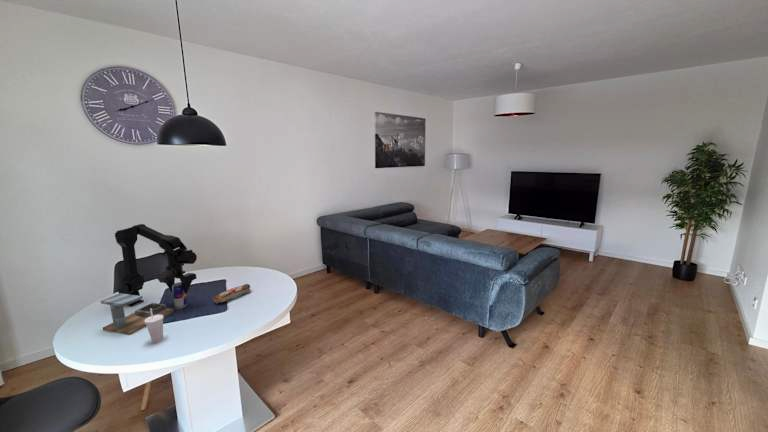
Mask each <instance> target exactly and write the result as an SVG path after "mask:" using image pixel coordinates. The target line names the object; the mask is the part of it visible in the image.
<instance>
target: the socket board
mask: <svg viewBox="0 0 768 432" xmlns="http://www.w3.org/2000/svg"><path fill="white" fill-rule="evenodd" d="M140 299H141V300H143V296H142V295H140V296H138V295H130V294H122V293H117V294H114V295H112V296H110V297H107V298H105V299H101V300H100V304H103V305H109V309H110V313H111V319H112V323H109V324H107V325H105V326H103V327H102V331H106V332H111V333H112V332H113V333H115V334H116V333H118V334H122V335H129V336H131V335H134V333H137V332H138V331H140V330H142V329H144V328H147V326H146V324H145V319H146V318H148V317H150V316H151V312H150V308H152V313H153V315H163V317H164V318H165V317H167V316H168V315H171V314H172V313H174V312H175V309H174V308H169V307H167V304H165V303H157V302H151V303H149V304H146V305H144V306H142V307H139V308H138V309H136V310H134V312H132V313H130V314H128V315H126V314H125V310H124V308H125V307H128V306H127V305H129V304H131V303H134V302H136V301H138V300H140Z"/></svg>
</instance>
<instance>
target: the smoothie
mask: <svg viewBox="0 0 768 432" xmlns="http://www.w3.org/2000/svg"><path fill="white" fill-rule="evenodd" d="M150 312H151V316H150V317H148V318H146V319H145V324H146V328H147V331H148V333H149V336H150V339H151V341H152V343H158V342H161V341H162V340H163V339H164V318H165V317H163V315H153V313H152V308H150Z"/></svg>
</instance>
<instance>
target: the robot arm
mask: <svg viewBox="0 0 768 432" xmlns="http://www.w3.org/2000/svg"><path fill="white" fill-rule="evenodd" d="M138 235H140V236H142V237H143V238H145V239H148V240H150V241H151V242H154V243H156V244H157V245H158V246H159V248H160V249H162V250H164V251H163V252H162V253H161V255H162V256H165V257H166V262H167V265H166V266H165V270H163V271H162V272H160V273H158V274H157V275H156V279H157V280H158V282H159V283H163V284H165V285H166V286H167V287H168V289H169V290H170V292H171V293H173V291H172V285H173V284H175V283H176V282H175V281H176V279H179V281H180V283H181V284H182V285H183V289H184V293H185V294H186V295H187V294H188V293H189V290H190V287H191V284H192V282H193V281H195V280H196V279H197V274H196V273H193V272H188V273H186V271H185V270H183V267H184V266H185V264H186V265H194V264H195V263H196V262H197V254H196V253H195V251H194V252H193V249H188V247H187V246H186V245H185V244H184V242H182V240H181V238H180V237H177V236H175V235H169V234H164V233H161V232H159V231H157V230H155V229H153V228H152V227H148V226H146V224H143V223H140V224H135V225H133V226H131V227H127V228H124V229H123V228H122V229H119V230H116V231H115V233H114V237H115V240H116V241H115V242H116V243H117V244H118V246H120V247H121V252H122V258H123V259H122V261H123V266H124V273H125V275H124V277H123V278H122V281H121V283H122V286H121V288H120V289H119V290H118V293H117V294H119V293H122V294H130V295H138V296H141V295H140V290H143V289H144V284H145V276H144V274H140V272H139V271H138V264H137V263H138V262H137V256H136V249H135V245H136V243H137V241H138ZM144 301H145V300H144V299H140V300H138V301H136V302H134V303H131V304H129V305H127V306H126V307H134V306H136V305H139V304H141V303H144Z"/></svg>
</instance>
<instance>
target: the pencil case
mask: <svg viewBox="0 0 768 432" xmlns="http://www.w3.org/2000/svg"><path fill="white" fill-rule="evenodd" d="M250 288H251V285H250V283H249V284H248V283H245V284H243V285H239V286H236V287H233V288H230V289H227V290H225V291H222V292H221V293H219V294H216V295H214V296H213V301H214V302H213V303H214V304H217V305H218V304H220V303H224V302H228V301H230V300H233V299H236V298H238V297H240V296H243V295H245V294H247V293H249V292H250V291H251V289H250Z"/></svg>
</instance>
